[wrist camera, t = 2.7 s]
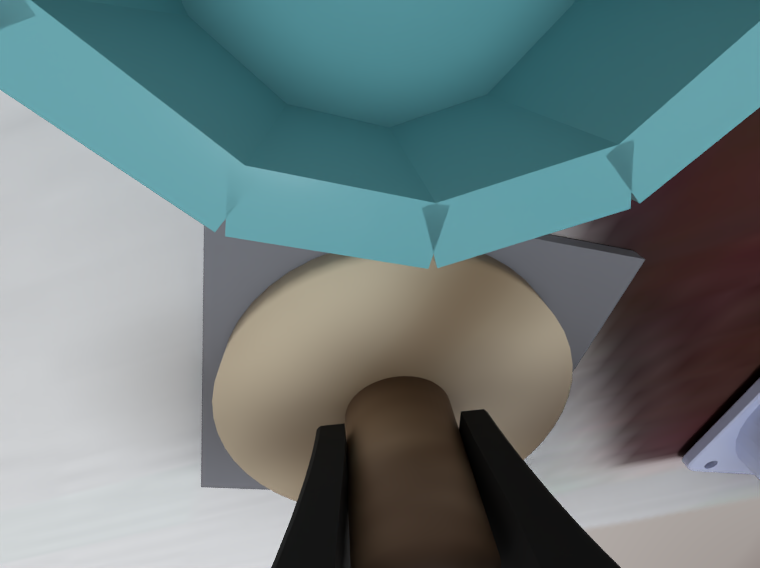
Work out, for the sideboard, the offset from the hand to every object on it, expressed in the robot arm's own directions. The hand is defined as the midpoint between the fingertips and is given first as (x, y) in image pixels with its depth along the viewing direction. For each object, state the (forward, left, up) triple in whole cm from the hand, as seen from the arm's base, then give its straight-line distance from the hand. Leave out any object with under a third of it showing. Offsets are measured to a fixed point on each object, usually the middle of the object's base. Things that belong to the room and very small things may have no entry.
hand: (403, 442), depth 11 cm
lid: (0, 0, -2) cm, 2 cm away
